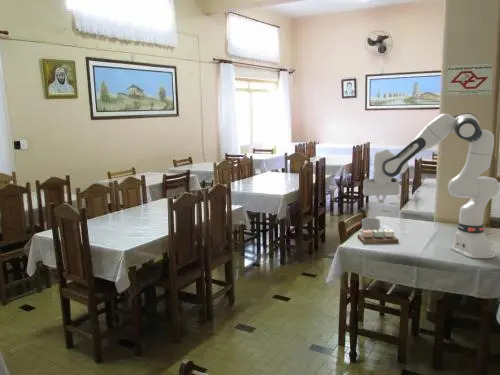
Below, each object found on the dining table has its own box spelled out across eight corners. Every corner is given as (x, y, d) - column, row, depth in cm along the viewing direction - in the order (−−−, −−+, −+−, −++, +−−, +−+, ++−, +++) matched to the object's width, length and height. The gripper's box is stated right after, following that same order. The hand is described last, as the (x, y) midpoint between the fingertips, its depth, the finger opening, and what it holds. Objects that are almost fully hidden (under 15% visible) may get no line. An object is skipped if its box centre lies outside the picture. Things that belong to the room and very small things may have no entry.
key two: (383, 240, 250) (383, 231, 249) (374, 240, 250) (374, 231, 249) (380, 237, 255) (380, 229, 254) (371, 237, 255) (372, 229, 254)
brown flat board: (398, 242, 247) (398, 239, 246) (363, 243, 246) (363, 240, 246) (391, 236, 259) (391, 233, 258) (357, 237, 258) (357, 234, 258)
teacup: (380, 235, 262) (380, 222, 261) (361, 234, 265) (362, 221, 263) (378, 229, 276) (378, 216, 274) (360, 228, 278) (360, 216, 277)
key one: (393, 239, 250) (394, 231, 249) (385, 240, 250) (385, 231, 249) (390, 237, 255) (391, 229, 254) (382, 237, 255) (382, 229, 254)
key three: (372, 240, 250) (373, 231, 249) (364, 240, 250) (364, 231, 249) (370, 237, 255) (370, 229, 254) (361, 237, 255) (361, 229, 254)
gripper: (364, 180, 244) (364, 204, 246) (401, 179, 244) (400, 203, 247) (361, 178, 250) (361, 202, 252) (397, 177, 251) (396, 201, 253)
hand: (380, 203), depth 249 cm, fingers closed
